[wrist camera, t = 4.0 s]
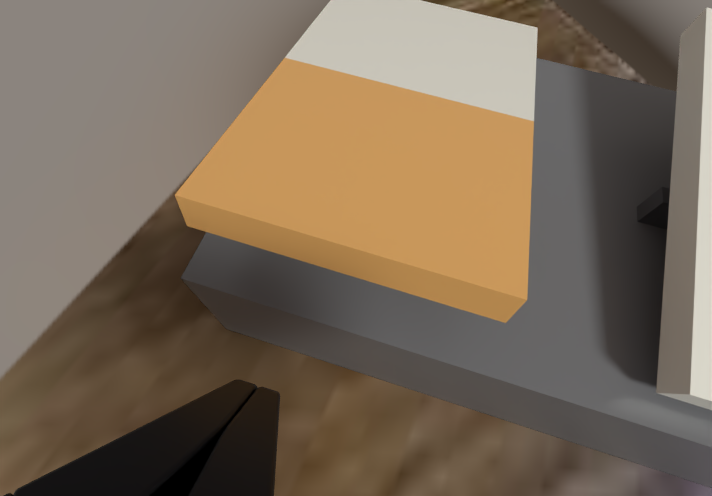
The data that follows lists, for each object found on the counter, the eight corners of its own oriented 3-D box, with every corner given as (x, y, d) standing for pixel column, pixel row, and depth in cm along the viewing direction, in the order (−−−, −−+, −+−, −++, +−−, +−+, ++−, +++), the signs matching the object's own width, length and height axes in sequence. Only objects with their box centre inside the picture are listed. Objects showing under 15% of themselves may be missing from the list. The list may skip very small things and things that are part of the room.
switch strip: (779, 509, 18) (1087, 552, 11) (226, 328, 21) (165, 261, 13) (730, 208, 26) (890, 111, 19) (332, 103, 29) (331, -19, 21)
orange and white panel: (505, 323, 11) (527, 299, 10) (186, 226, 12) (174, 195, 11) (524, 55, 21) (537, 27, 20) (342, 11, 22) (344, -18, 20)
